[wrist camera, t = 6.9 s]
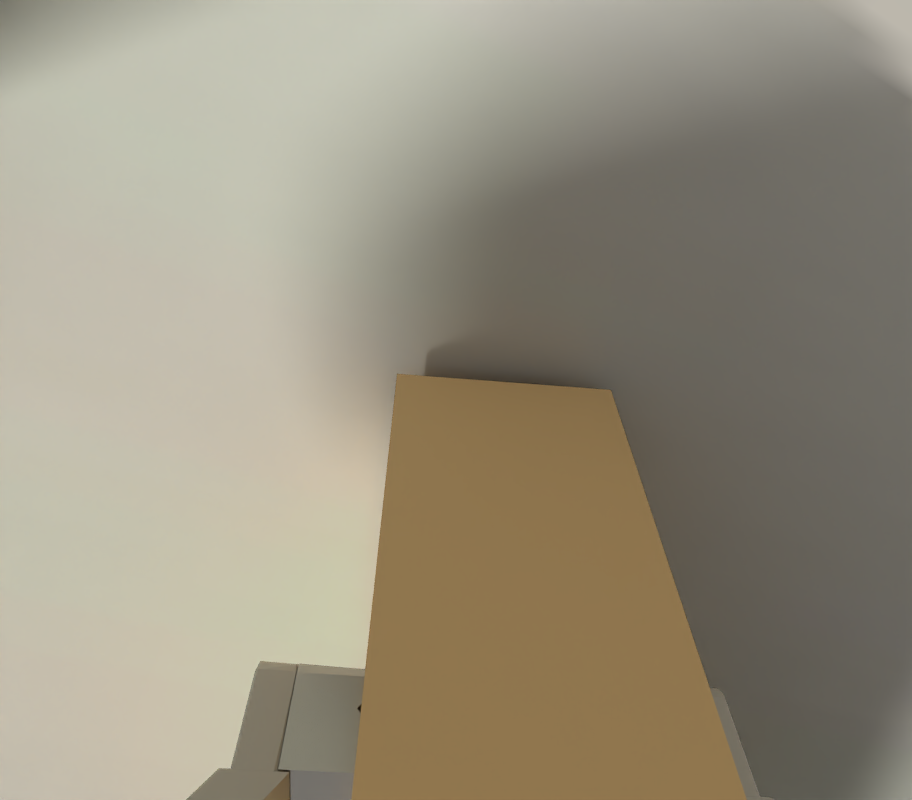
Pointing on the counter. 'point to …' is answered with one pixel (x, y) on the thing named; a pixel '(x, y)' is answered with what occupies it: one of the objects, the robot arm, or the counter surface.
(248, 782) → the robot arm
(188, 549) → the counter surface
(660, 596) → the tan rectangular block
